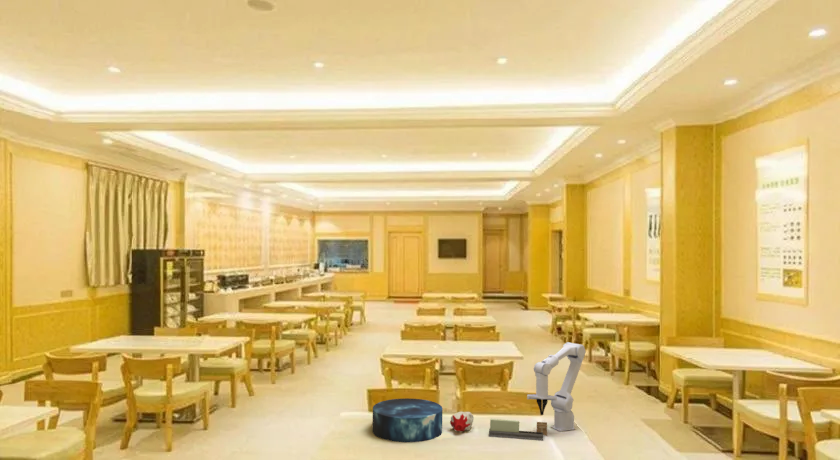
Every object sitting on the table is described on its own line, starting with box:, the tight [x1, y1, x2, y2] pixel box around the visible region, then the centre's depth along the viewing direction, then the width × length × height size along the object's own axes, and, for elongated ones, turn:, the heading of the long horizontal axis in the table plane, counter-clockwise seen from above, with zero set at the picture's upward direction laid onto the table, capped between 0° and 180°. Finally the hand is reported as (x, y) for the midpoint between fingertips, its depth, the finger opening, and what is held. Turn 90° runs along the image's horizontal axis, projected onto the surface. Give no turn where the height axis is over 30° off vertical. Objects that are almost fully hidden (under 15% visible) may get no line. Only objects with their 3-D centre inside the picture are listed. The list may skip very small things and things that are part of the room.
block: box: [536, 421, 548, 437], centre depth 285 cm, size 5×5×5 cm
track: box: [488, 428, 544, 441], centre depth 280 cm, size 26×7×2 cm, turn 79°
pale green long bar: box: [489, 418, 520, 433], centre depth 282 cm, size 14×2×6 cm, turn 79°
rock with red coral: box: [449, 411, 474, 433], centre depth 288 cm, size 9×11×15 cm
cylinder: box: [371, 397, 443, 443], centre depth 288 cm, size 35×35×12 cm
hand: (541, 414), depth 285 cm, fingers closed
